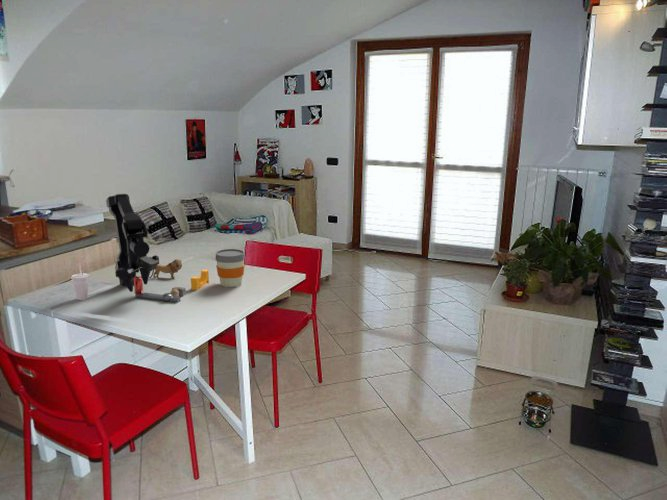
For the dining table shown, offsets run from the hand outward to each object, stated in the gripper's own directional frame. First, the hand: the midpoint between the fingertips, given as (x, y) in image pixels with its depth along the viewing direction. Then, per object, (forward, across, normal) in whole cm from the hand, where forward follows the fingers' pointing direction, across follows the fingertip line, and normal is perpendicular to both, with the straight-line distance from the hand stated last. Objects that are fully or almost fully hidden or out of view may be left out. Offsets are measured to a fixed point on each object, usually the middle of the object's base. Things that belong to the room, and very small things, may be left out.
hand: (138, 287), depth 200 cm
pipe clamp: (+5, +20, -15) cm, 26 cm away
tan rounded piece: (+4, +4, -14) cm, 15 cm away
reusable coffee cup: (+5, +27, -27) cm, 38 cm away
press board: (+5, -2, -5) cm, 7 cm away
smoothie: (+5, -6, +22) cm, 23 cm away
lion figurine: (+5, +27, +5) cm, 28 cm away
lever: (+4, 0, -8) cm, 9 cm away
